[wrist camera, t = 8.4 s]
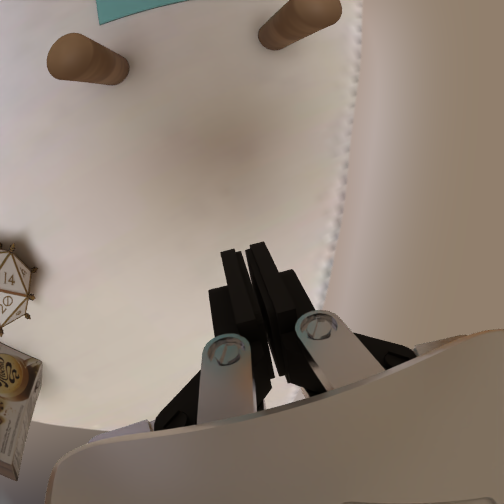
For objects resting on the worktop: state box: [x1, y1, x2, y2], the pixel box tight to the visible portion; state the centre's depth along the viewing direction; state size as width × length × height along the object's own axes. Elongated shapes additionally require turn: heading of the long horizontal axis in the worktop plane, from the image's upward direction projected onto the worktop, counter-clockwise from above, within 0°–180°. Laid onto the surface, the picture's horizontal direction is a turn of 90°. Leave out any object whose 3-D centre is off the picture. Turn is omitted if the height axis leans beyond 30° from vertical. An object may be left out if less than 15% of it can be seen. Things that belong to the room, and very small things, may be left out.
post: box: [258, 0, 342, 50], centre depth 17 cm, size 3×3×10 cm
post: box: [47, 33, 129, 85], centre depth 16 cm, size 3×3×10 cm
